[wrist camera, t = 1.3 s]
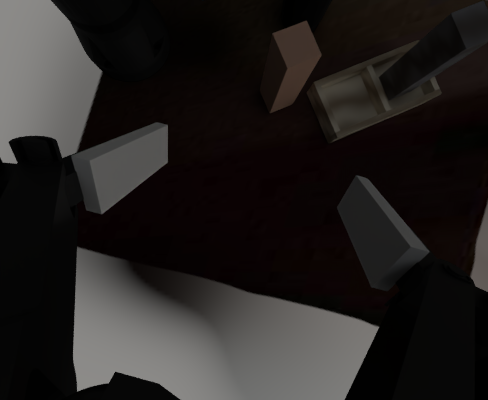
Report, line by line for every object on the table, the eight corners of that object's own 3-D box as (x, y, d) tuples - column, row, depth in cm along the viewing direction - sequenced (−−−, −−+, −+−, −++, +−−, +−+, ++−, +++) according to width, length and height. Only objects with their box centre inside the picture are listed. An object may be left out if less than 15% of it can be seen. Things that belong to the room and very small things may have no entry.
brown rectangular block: (259, 90, 39) (272, 33, 26) (282, 81, 40) (306, 20, 27) (269, 113, 39) (287, 68, 26) (292, 104, 40) (321, 54, 27)
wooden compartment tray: (306, 93, 40) (348, 28, 25) (402, 54, 41) (495, -29, 26) (328, 143, 40) (383, 108, 25) (423, 103, 41) (528, 47, 26)
